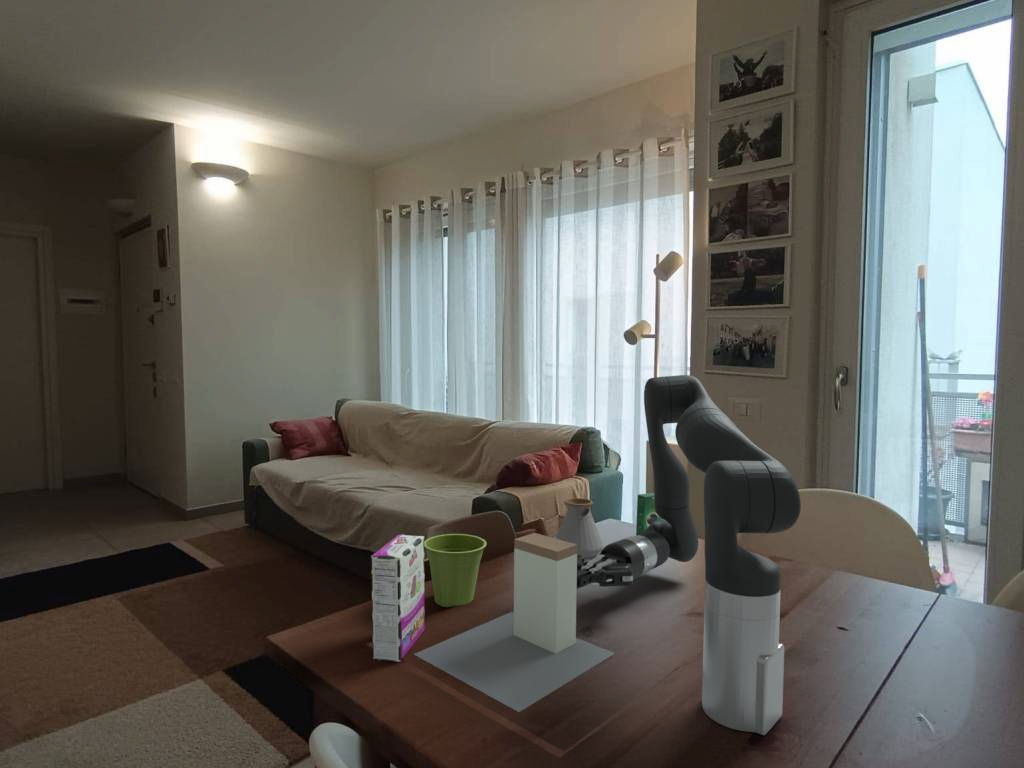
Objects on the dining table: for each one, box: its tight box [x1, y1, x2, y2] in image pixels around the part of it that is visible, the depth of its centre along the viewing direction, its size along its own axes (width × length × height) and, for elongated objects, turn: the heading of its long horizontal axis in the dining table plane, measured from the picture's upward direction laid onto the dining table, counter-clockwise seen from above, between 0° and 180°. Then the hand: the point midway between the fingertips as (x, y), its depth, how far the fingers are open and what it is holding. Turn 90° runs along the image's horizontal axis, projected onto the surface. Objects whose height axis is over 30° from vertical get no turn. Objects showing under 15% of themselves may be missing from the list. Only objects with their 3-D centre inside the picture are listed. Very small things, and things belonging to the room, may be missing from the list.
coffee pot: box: [555, 497, 604, 560], centre depth 139 cm, size 21×12×15 cm, turn 0°
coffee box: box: [635, 492, 666, 536], centre depth 151 cm, size 8×3×13 cm, turn 122°
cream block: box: [513, 532, 578, 653], centre depth 100 cm, size 9×5×16 cm, turn 47°
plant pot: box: [424, 533, 487, 608], centre depth 117 cm, size 12×12×11 cm
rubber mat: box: [413, 611, 616, 713], centre depth 96 cm, size 22×22×1 cm
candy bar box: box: [370, 534, 426, 663], centre depth 99 cm, size 11×5×16 cm, turn 168°
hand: (573, 582), depth 106 cm, fingers closed
